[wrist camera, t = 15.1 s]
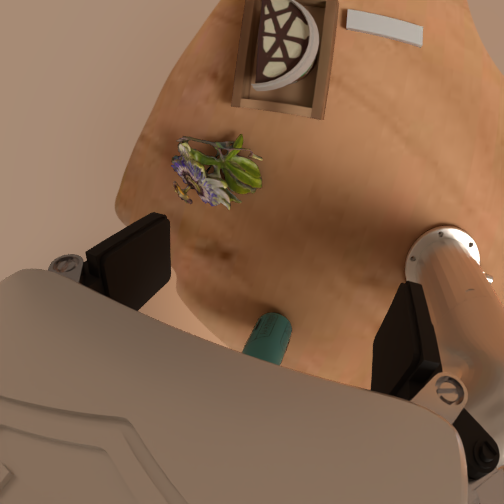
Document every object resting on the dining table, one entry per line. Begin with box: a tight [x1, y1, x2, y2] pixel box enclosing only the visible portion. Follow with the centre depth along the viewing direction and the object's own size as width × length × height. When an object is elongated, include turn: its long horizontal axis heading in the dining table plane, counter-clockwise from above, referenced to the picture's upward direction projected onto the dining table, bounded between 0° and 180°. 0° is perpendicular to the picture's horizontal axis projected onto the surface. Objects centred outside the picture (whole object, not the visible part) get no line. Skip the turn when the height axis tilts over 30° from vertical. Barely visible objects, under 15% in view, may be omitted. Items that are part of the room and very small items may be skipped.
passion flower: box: [171, 134, 263, 210], centre depth 39 cm, size 11×11×12 cm
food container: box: [251, 0, 319, 91], centre depth 26 cm, size 12×6×10 cm, turn 176°
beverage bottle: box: [242, 313, 292, 365], centre depth 43 cm, size 6×7×20 cm
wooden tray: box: [231, 0, 339, 120], centre depth 30 cm, size 11×17×4 cm, turn 173°
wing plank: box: [346, 9, 423, 48], centre depth 25 cm, size 10×3×2 cm, turn 84°
